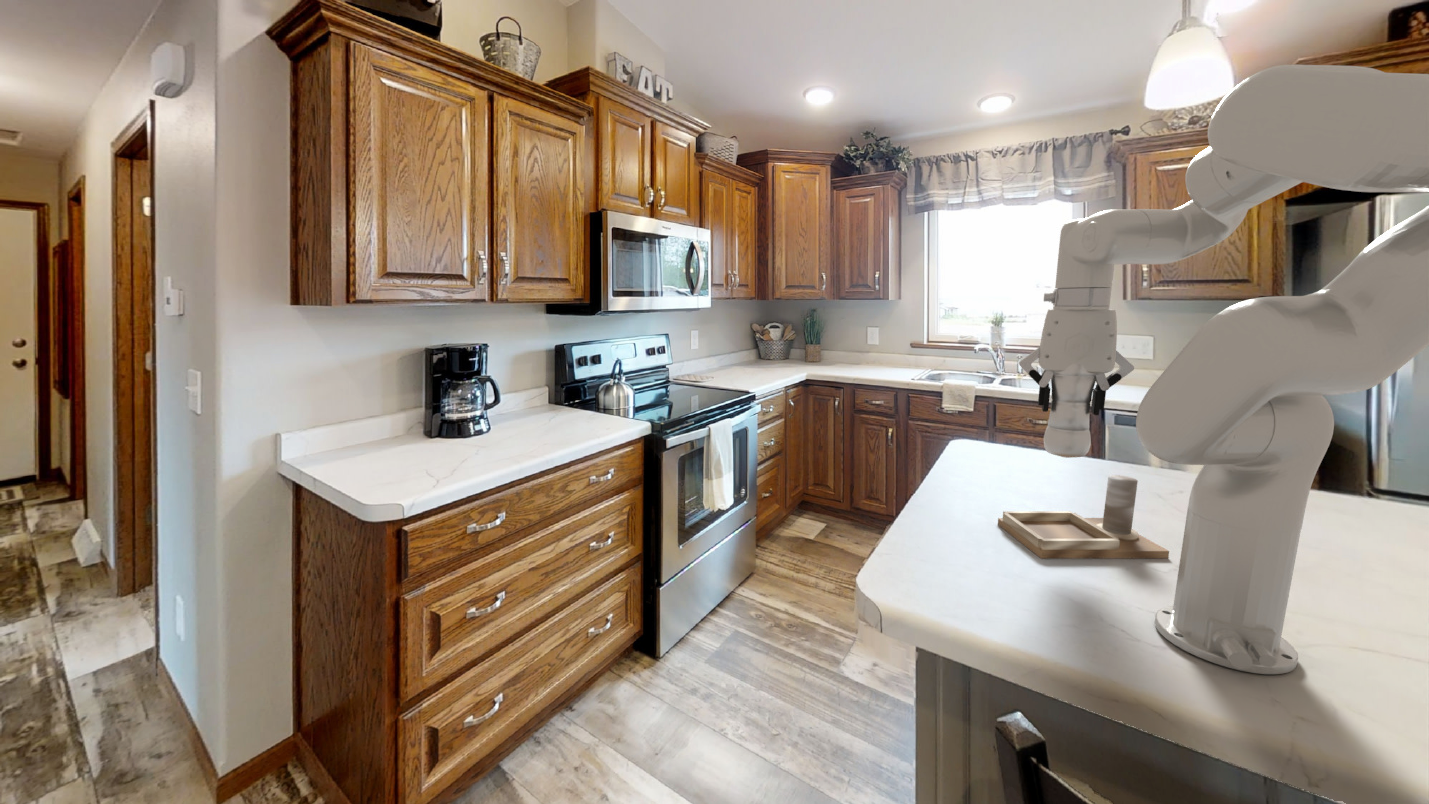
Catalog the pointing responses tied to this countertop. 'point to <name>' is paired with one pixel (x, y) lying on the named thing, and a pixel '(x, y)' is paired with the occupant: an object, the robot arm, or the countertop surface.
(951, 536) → the countertop surface
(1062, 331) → the robot arm
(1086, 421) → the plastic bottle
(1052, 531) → the board
